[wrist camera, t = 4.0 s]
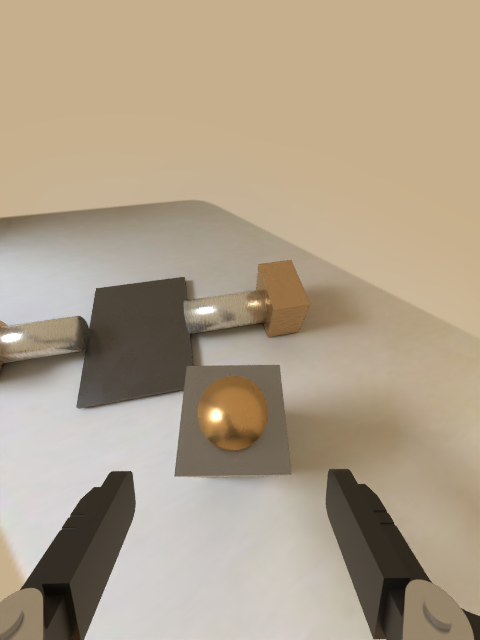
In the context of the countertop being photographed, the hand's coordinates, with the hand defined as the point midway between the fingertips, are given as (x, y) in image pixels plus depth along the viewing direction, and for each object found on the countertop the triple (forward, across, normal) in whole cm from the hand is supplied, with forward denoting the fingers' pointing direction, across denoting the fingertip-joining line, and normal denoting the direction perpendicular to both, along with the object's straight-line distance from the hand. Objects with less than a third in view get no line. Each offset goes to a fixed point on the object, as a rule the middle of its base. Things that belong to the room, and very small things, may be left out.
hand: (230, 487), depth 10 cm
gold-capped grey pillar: (+7, 0, +4) cm, 8 cm away
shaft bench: (+14, +9, -3) cm, 16 cm away
